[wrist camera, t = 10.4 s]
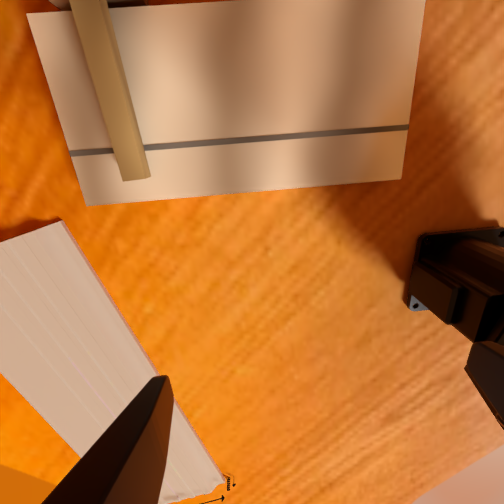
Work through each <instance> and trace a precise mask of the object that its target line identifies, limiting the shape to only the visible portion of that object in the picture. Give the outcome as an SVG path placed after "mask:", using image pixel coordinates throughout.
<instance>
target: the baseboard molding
mask: <svg viewBox="0 0 504 504" xmlns="http://www.w3.org/2000/svg"><path fill="white" fill-rule="evenodd" d="M0 372H1V374H2V375H3V376H4V377H5V378H6V379H7V380H8V381H9V382H10V383H11V384H12V385H13V386H14V387H15V388H16V389H17V390H18V392H19V393H20V394H21V395H22V396H23V397H24V398H25V399H26V400H27V401H28V402H29V403H30V404H31V405H32V406H33V407H34V408H35V410H36V411H37V412H38V413H39V414H40V415H41V416H42V417H43V418H44V419H45V420H46V421H47V422H48V423H49V424H50V425H51V426H52V428H53V429H54V430H55V431H56V432H57V433H58V434H59V435H60V436H61V437H62V438H63V439H64V440H65V441H66V442H67V443H68V444H69V446H70V447H71V448H72V449H73V450H74V451H75V452H76V453H77V454H78V455H79V456H80V457H81V458H82V457H83V456H84V454H85V453H86V452H87V451H88V450H89V449H90V448H91V446H92V445H93V444H94V443H95V442H96V441H97V440H98V438H99V437H100V436H101V435H102V434H103V433H104V432H105V430H106V429H107V428H108V427H109V426H110V425H111V424H112V422H113V421H114V420H115V419H116V418H117V417H118V416H119V414H120V413H121V412H122V411H123V410H124V409H125V408H126V406H127V405H128V404H129V403H130V402H131V401H132V400H133V398H134V397H135V396H136V395H137V394H138V393H139V392H140V391H141V389H142V388H143V387H144V386H145V385H146V384H147V383H148V381H149V380H150V379H151V378H152V377H154V376H160V374H159V373H158V371H157V370H156V368H155V366H154V365H153V363H152V362H151V360H150V358H149V357H148V355H147V354H146V352H145V350H144V349H143V347H142V346H141V344H140V342H139V341H138V339H137V338H136V336H135V334H134V333H133V331H132V330H131V328H130V327H129V325H128V323H127V322H126V320H125V319H124V317H123V315H122V314H121V312H120V311H119V309H118V307H117V306H116V304H115V303H114V301H113V299H112V298H111V296H110V295H109V293H108V291H107V290H106V288H105V287H104V285H103V284H102V282H101V280H100V279H99V277H98V276H97V274H96V272H95V271H94V269H93V268H92V266H91V264H90V263H89V261H88V260H87V258H86V256H85V255H84V253H83V252H82V250H81V248H80V247H79V245H78V244H77V242H76V241H75V239H74V237H73V236H72V234H71V233H70V231H69V229H68V228H67V226H66V225H65V223H64V221H63V220H61V221H59V222H56V223H53V224H50V225H47V226H44V227H41V228H38V229H36V230H33V231H30V232H27V233H24V234H21V235H18V236H15V237H13V238H10V239H7V240H4V241H1V242H0ZM226 479H227V478H226ZM228 480H230V479H229V478H228V479H227V482H230V481H228ZM222 483H225V478H224V476H223V475H222V473H221V471H220V470H219V468H218V467H217V465H216V463H215V462H214V460H213V459H212V457H211V455H210V454H209V452H208V451H207V449H206V448H205V446H204V444H203V443H202V441H201V440H200V438H199V436H198V435H197V433H196V432H195V430H194V428H193V427H192V425H191V424H190V422H189V420H188V419H187V417H186V416H185V414H184V413H183V411H182V409H181V408H180V406H179V405H178V403H177V401H176V400H175V398H174V406H173V414H172V423H171V431H170V439H169V447H168V455H167V463H166V468H165V473H164V478H163V483H162V487H161V492H160V496H159V501H158V504H168V503H172V502H179V501H181V500H183V499H186V498H194V497H195V496H198V495H201V494H204V495H205V494H209V493H212V491H213V489H214V488H215V487H216V486H217V485H219V484H222ZM229 484H230V483H227V491H229V490H230V489H229V488H230V487H228V486H230V485H229ZM235 485H236V484H233V486H235ZM220 499H222V501H223V500H224V496H223V495H222V498H220ZM216 500H219V499H216ZM216 500H213V501H216ZM209 502H212V501H209ZM205 503H208V502H205ZM201 504H204V503H201Z"/></svg>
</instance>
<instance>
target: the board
mask: <svg viewBox="0 0 504 504" xmlns="http://www.w3.org/2000/svg"><path fill="white" fill-rule="evenodd" d="M425 2H426V0H234V1H218V2H202V3H186V4H170V5H155V6H139V7H123V8H108V9H109V13H110V17H111V20H112V24H113V28H114V32H115V36H116V40H117V44H118V48H119V52H120V56H121V60H122V64H123V68H124V72H125V75H126V79H127V83H128V87H129V91H130V95H131V99H132V103H133V107H134V111H135V115H136V119H137V123H138V127H139V130H140V134H141V138H142V142H143V146H144V150H145V154H146V158H147V162H148V166H149V170H150V174H151V177H149V178H146V179H140V180H132V181H124V182H123V181H122V177H121V174H120V171H119V167H118V164H117V161H116V157H115V154H114V150H113V147H112V144H111V140H110V137H109V133H108V130H107V127H106V123H105V120H104V117H103V113H102V110H101V106H100V103H99V100H98V96H97V93H96V90H95V86H94V83H93V79H92V76H91V73H90V69H89V66H88V63H87V59H86V56H85V52H84V49H83V46H82V42H81V39H80V36H79V32H78V29H77V25H76V22H75V19H74V15H73V12H72V11H59V12H43V13H27V14H26V15H27V19H28V22H29V25H30V28H31V31H32V34H33V38H34V41H35V44H36V47H37V50H38V53H39V57H40V60H41V63H42V66H43V69H44V73H45V76H46V79H47V82H48V85H49V88H50V92H51V95H52V98H53V101H54V104H55V108H56V111H57V114H58V117H59V120H60V123H61V127H62V130H63V133H64V136H65V139H66V143H67V146H68V149H69V153H70V157H71V158H72V162H73V165H74V168H75V171H76V174H77V178H78V181H79V184H80V187H81V190H82V193H83V197H84V200H85V203H86V206H93V205H105V204H117V203H128V202H140V201H152V200H164V199H175V198H187V197H199V196H211V195H222V194H234V193H246V192H258V191H269V190H281V189H293V188H304V187H316V186H328V185H340V184H351V183H363V182H375V181H387V180H398V179H401V177H402V170H403V163H404V155H405V148H406V141H407V133H408V129H409V119H410V112H411V104H412V97H413V90H414V82H415V75H416V68H417V61H418V53H419V46H420V39H421V31H422V24H423V17H424V10H425Z"/></svg>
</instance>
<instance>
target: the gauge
mask: <svg viewBox="0 0 504 504" xmlns="http://www.w3.org/2000/svg"><path fill="white" fill-rule="evenodd" d="M48 1H50V2H51V3H52V4H54V5H55V6H56V7H57V8H59V9H60V10H61V11H72V12H73V15H74V19H75V22H76V25H77V29H78V32H79V36H80V39H81V42H82V46H83V49H84V52H85V56H86V59H87V63H88V66H89V69H90V73H91V76H92V79H93V83H94V86H95V90H96V93H97V96H98V100H99V103H100V106H101V110H102V113H103V117H104V120H105V123H106V127H107V130H108V133H109V137H110V140H111V144H112V147H113V150H114V154H115V157H116V161H117V164H118V167H119V171H120V174H121V177H122V181H123V182H124V181H132V180H140V179H146V178H149V177H151V174H150V170H149V166H148V162H147V158H146V154H145V150H144V146H143V142H142V138H141V134H140V130H139V127H138V123H137V119H136V115H135V111H134V107H133V103H132V99H131V95H130V91H129V87H128V83H127V79H126V75H125V72H124V68H123V64H122V60H121V56H120V52H119V48H118V44H117V40H116V36H115V32H114V28H113V24H112V20H111V17H110V13H109V9H108V8H123V7H139V6H149V4H148V0H48Z"/></svg>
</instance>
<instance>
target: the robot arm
mask: <svg viewBox="0 0 504 504" xmlns="http://www.w3.org/2000/svg"><path fill="white" fill-rule="evenodd" d="M499 233H500V234H499ZM427 238H428V240H427V241H426V242H425V240H426V239H427ZM408 291H409V293H408V298H407V307H408V308H409V309H410V310H411V311H422V310H430V311H431V312H432V313H434V314H435V315H436V316H437V317H438V318H439V319H441V320H442V321H443V322H444V323H445V324H447V325H452V326H453V327H455V328H456V329H457V330H458V331H459V332H461V333H462V334H463V335H464V336H465V337H467V338H468V339H469V340H470V341H471V342H473V345H472V347H471V350H470V353H469V357H468V360H467V365H466V366H465V368H464V369H465V371H466V373H467V374H468V376H469V377H470V379H471V380H472V382H473V383H474V385H475V387H476V388H477V390H478V391H479V393H480V394H481V396H482V398H483V399H484V401H485V402H486V404H487V405H488V407H489V408H490V410H491V412H492V413H493V415H494V416H495V418H496V419H497V421H498V423H499V424H500V426H501V427H502V428H503V430H504V227H500V226H498V227H487V228H476V229H465V230H454V231H443V232H432V233H424V234H422V235H420V237H419V238H418V241H417V247H416V253H415V258H414V263H413V267H412V273H411V279H410V284H409V290H408ZM414 304H415V305H414ZM173 406H174V395H173V391H172V387H171V384H170V380H169V377H168V376H167V375H161V376H154V377H152V378H151V379H150V380H149V381H148V383H147V384H146V385H145V386H144V387H143V388H142V389H141V391H140V392H139V393H138V394H137V395H136V396H135V397H134V398H133V400H132V401H131V402H130V403H129V404H128V405H127V406H126V408H125V409H124V410H123V411H122V412H121V413H120V414H119V416H118V417H117V418H116V419H115V420H114V421H113V422H112V424H111V425H110V426H109V427H108V428H107V429H106V430H105V432H104V433H103V434H102V435H101V436H100V437H99V438H98V440H97V441H96V442H95V443H94V444H93V445H92V446H91V448H90V449H89V450H88V451H87V452H86V453H85V454H84V456H83V457H82V458H81V459H80V460H79V461H78V462H77V463H76V465H75V466H74V467H73V468H72V469H71V470H70V471H69V473H68V474H67V475H66V476H65V477H64V478H63V479H62V481H61V482H60V483H59V484H58V485H57V486H56V487H55V489H54V490H53V491H52V492H51V493H50V494H49V495H48V497H47V498H46V499H45V500H44V501H43V502H42V504H158V501H159V496H160V492H161V487H162V483H163V478H164V473H165V468H166V463H167V455H168V447H169V439H170V431H171V423H172V414H173Z"/></svg>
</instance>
